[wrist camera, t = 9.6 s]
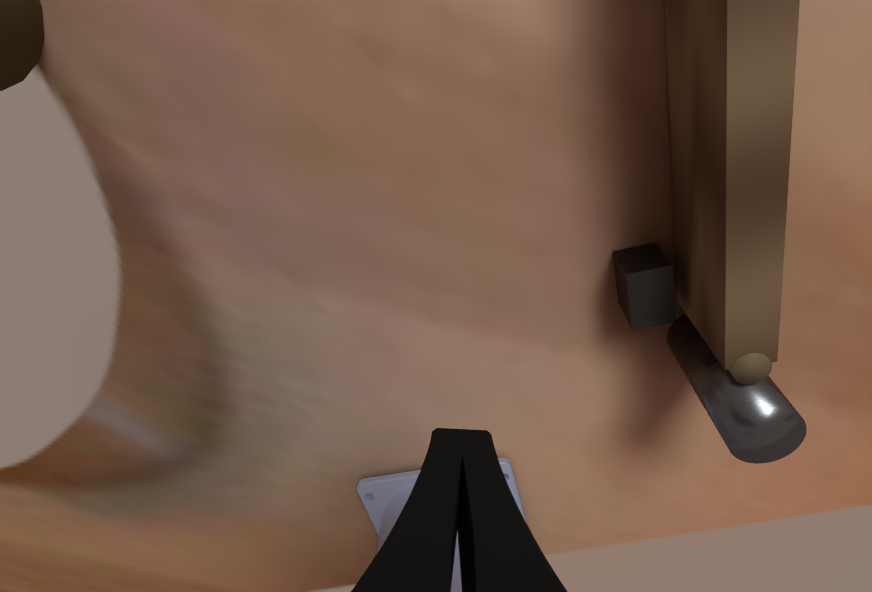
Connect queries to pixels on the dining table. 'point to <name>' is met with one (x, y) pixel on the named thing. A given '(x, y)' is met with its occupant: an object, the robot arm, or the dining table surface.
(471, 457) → the robot arm
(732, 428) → the hammer
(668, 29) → the handle
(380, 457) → the dining table surface
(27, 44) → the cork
